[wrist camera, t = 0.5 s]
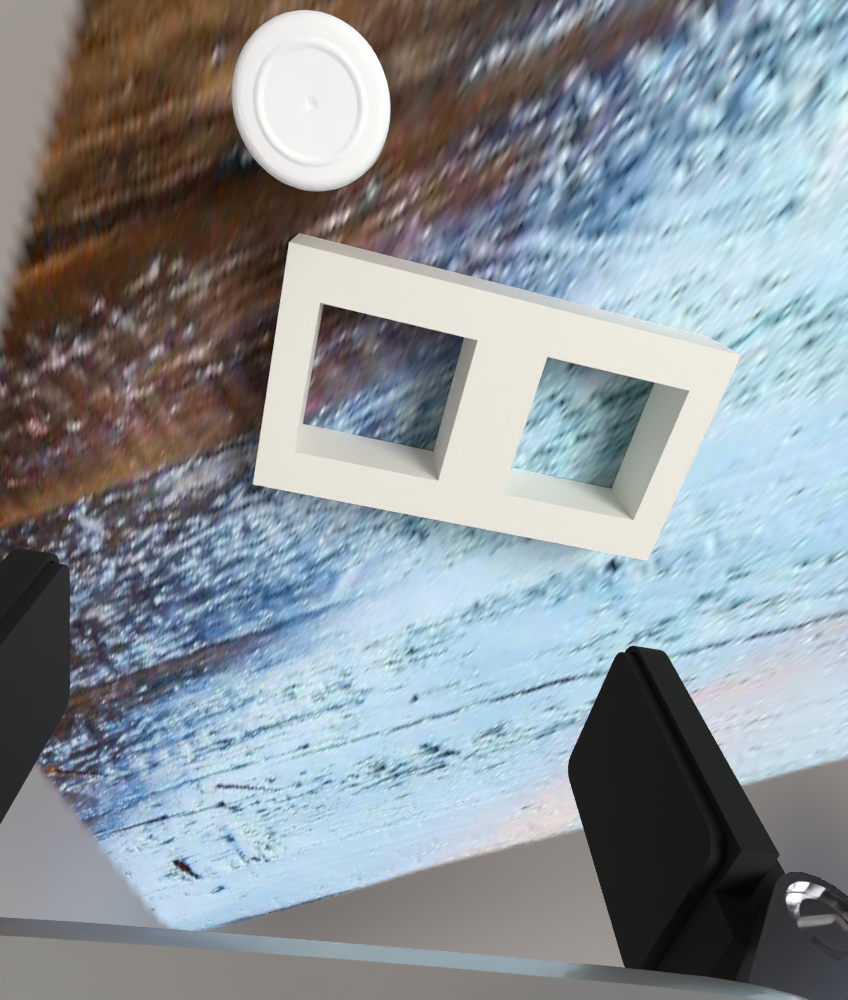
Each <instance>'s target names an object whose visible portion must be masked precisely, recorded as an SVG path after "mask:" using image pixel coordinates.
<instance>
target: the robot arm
mask: <svg viewBox="0 0 848 1000" xmlns="http://www.w3.org/2000/svg"><path fill="white" fill-rule="evenodd" d="M69 692H70V573H69V568H68V566H67V565H63V564H59V560H58V557H57V555H55V554H52V553H46V552H40V551H33V550H27V549H21V548H17V549H14V550H13V551H11V552H10V553H9V554H8V555H7V557H6V558H5V559H4V560H3V561H2V562H1V563H0V823H1V822H2V820H3V818H4V817H5V815H6V813H7V811H8V810H9V808H10V806H11V805H12V803H13V801H14V799H15V797H16V796H17V794H18V792H19V791H20V789H21V787H22V785H23V784H24V782H25V780H26V778H27V777H28V775H29V773H30V772H31V770H32V768H33V766H34V765H35V763H36V761H37V759H38V758H39V756H40V754H41V752H42V751H43V749H44V747H45V745H46V744H47V742H48V740H49V738H50V737H51V735H52V733H53V732H54V730H55V728H56V726H57V725H58V723H59V721H60V719H61V718H62V716H63V714H64V712H65V709H66V706H67V703H68V699H69ZM568 776H569V781H570V784H571V787H572V791H573V794H574V797H575V801H576V804H577V808H578V811H579V814H580V818H581V821H582V825H583V828H584V831H585V835H586V838H587V841H588V845H589V848H590V852H591V855H592V859H593V862H594V865H595V869H596V872H597V876H598V879H599V882H600V886H601V889H602V893H603V896H604V899H605V903H606V906H607V910H608V913H609V916H610V920H611V923H612V927H613V930H614V933H615V937H616V940H617V944H618V947H619V950H620V954H621V957H622V961H623V963H624V966H625V968H622V967H612V966H601V965H590V964H589V965H588V964H579V963H567V962H556V961H544V960H533V959H523V958H512V957H500V956H489V955H478V954H466V953H455V952H444V951H432V950H420V949H407V948H396V947H384V946H372V945H361V944H348V943H336V942H324V941H312V940H300V939H287V938H275V937H263V936H251V935H238V934H225V933H213V932H212V933H211V932H200V931H187V930H174V929H161V928H148V927H135V926H121V925H110V924H97V923H83V922H68V921H53V920H36V919H35V920H34V919H20V918H19V919H18V918H3V917H2V918H1V917H0V1000H848V896H847V895H846V894H845V893H843V892H842V891H841V890H840V889H838V888H837V887H836V886H834V885H833V884H830V883H829V882H827V881H825V880H823V879H822V878H820V877H817V876H814V875H811V874H808V873H804V872H788V873H786V874H785V873H784V871H783V869H782V867H781V865H780V864H779V862H778V860H777V858H778V857H779V853H778V851H777V849H776V848H775V846H774V844H773V842H772V840H771V839H770V837H769V835H768V833H767V832H766V830H765V828H764V826H763V824H762V823H761V821H760V819H759V817H758V816H757V814H756V812H755V810H754V808H753V807H752V805H751V803H750V801H749V800H748V798H747V796H746V794H745V793H744V791H743V789H742V787H741V785H740V784H739V782H738V780H737V778H736V776H735V775H734V773H733V771H732V769H731V768H730V766H729V764H728V762H727V761H726V759H725V757H724V755H723V753H722V752H721V750H720V748H719V746H718V745H717V743H716V741H715V739H714V737H713V736H712V734H711V732H710V730H709V729H708V727H707V725H706V723H705V721H704V720H703V718H702V716H701V714H700V713H699V711H698V709H697V707H696V705H695V704H694V702H693V700H692V698H691V697H690V695H689V693H688V691H687V690H686V688H685V686H684V684H683V682H682V681H681V679H680V677H679V675H678V674H677V672H676V670H675V668H674V666H673V665H672V663H671V661H670V659H669V658H668V656H667V655H666V653H665V652H664V651H661V650H656V649H650V648H644V647H638V646H630V647H629V648H628V649H626V651H625V653H624V652H620V653H618V654H617V655H616V657H615V658H614V661H613V663H612V665H611V667H610V670H609V672H608V674H607V676H606V678H605V681H604V683H603V685H602V687H601V690H600V692H599V694H598V696H597V698H596V701H595V703H594V705H593V707H592V709H591V712H590V714H589V716H588V718H587V721H586V723H585V725H584V727H583V729H582V732H581V734H580V736H579V738H578V741H577V743H576V745H575V747H574V749H573V752H572V754H571V756H570V759H569V764H568Z"/></svg>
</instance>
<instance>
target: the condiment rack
mask: <svg viewBox="0 0 848 1000" xmlns="http://www.w3.org/2000/svg"><path fill="white" fill-rule="evenodd" d="M324 304H327V305H331V306H335V307H340V308H344V309H348V310H352V311H356V312H361V313H365V314H369V315H373V316H377V317H382V318H386V319H390V320H394V321H398V322H403V323H407V324H411V325H415V326H419V327H424V328H428V329H432V330H436V331H440V332H445V333H449V334H453V335H457V336H461V337H464V340H463V344H462V347H461V351H460V355H459V358H458V362H457V366H456V369H455V373H454V377H453V380H452V384H451V388H450V391H449V395H448V399H447V402H446V406H445V410H444V413H443V417H442V421H441V424H440V428H439V432H438V435H437V439H436V443H435V446H434V450H433V451H430V450H425V449H420V448H415V447H411V446H406V445H401V444H396V443H392V442H387V441H382V440H377V439H372V438H368V437H363V436H358V435H353V434H349V433H344V432H339V431H334V430H329V429H325V428H320V427H315V426H310V425H306V424H303V418H304V412H305V407H306V401H307V396H308V390H309V384H310V379H311V373H312V367H313V362H314V356H315V350H316V345H317V339H318V334H319V328H320V322H321V317H322V311H323V305H324ZM740 356H741V355H740V354H738V353H736V352H735V351H733V350H731V349H729V348H727V347H725V346H724V345H722V344H720V343H718V342H716V341H715V340H713V339H711V338H709V337H707V336H705V335H701V334H697V333H693V332H689V331H685V330H681V329H677V328H673V327H669V326H665V325H661V324H657V323H653V322H649V321H645V320H641V319H637V318H633V317H629V316H625V315H621V314H618V313H614V312H610V311H606V310H602V309H598V308H594V307H590V306H586V305H582V304H578V303H574V302H570V301H566V300H562V299H558V298H554V297H550V296H546V295H542V294H538V293H534V292H530V291H527V290H523V289H519V288H515V287H511V286H507V285H503V284H499V283H495V282H491V281H487V280H483V279H479V278H475V277H471V276H467V275H463V274H459V273H455V272H451V271H447V270H443V269H439V268H436V267H432V266H428V265H424V264H420V263H416V262H412V261H408V260H404V259H400V258H396V257H392V256H388V255H384V254H380V253H376V252H372V251H368V250H364V249H360V248H356V247H352V246H348V245H345V244H341V243H337V242H333V241H329V240H325V239H321V238H317V237H313V236H309V235H305V234H301V233H299V234H298V235H297V236H295V237H294V238H293V239H292V240H291V241H290V242H289V246H288V253H287V260H286V266H285V273H284V280H283V286H282V293H281V300H280V306H279V313H278V320H277V326H276V333H275V340H274V346H273V353H272V360H271V367H270V373H269V380H268V387H267V393H266V400H265V407H264V413H263V420H262V427H261V433H260V440H259V447H258V453H257V460H256V467H255V473H254V480H253V485H259V486H264V487H269V488H274V489H279V490H284V491H290V492H295V493H300V494H305V495H310V496H315V497H321V498H326V499H331V500H336V501H341V502H346V503H352V504H357V505H362V506H367V507H372V508H377V509H383V510H388V511H393V512H398V513H403V514H408V515H414V516H419V517H424V518H429V519H434V520H439V521H445V522H450V523H455V524H460V525H465V526H470V527H476V528H481V529H486V530H491V531H496V532H502V533H507V534H512V535H517V536H522V537H527V538H533V539H538V540H543V541H548V542H553V543H558V544H564V545H569V546H574V547H579V548H584V549H589V550H595V551H600V552H605V553H610V554H615V555H620V556H626V557H631V558H636V559H641V560H646V561H647V560H648V558H649V556H650V554H651V551H652V549H653V547H654V545H655V543H656V540H657V538H658V536H659V534H660V532H661V530H662V527H663V525H664V523H665V521H666V519H667V516H668V514H669V512H670V510H671V508H672V505H673V503H674V501H675V499H676V497H677V494H678V492H679V490H680V488H681V486H682V483H683V481H684V479H685V477H686V475H687V472H688V470H689V468H690V466H691V464H692V462H693V459H694V457H695V455H696V453H697V451H698V448H699V446H700V444H701V442H702V440H703V437H704V435H705V433H706V431H707V429H708V426H709V424H710V422H711V420H712V418H713V415H714V413H715V411H716V409H717V407H718V404H719V402H720V400H721V398H722V396H723V394H724V391H725V389H726V387H727V385H728V383H729V380H730V378H731V376H732V374H733V372H734V369H735V367H736V365H737V363H738V361H739V358H740ZM547 357H550V358H554V359H558V360H562V361H566V362H571V363H575V364H579V365H583V366H588V367H592V368H596V369H600V370H604V371H609V372H613V373H617V374H621V375H625V376H630V377H634V378H638V379H642V380H646V381H651V382H655V383H654V385H653V388H652V390H651V393H650V395H649V397H648V400H647V402H646V405H645V407H644V410H643V412H642V415H641V417H640V420H639V422H638V425H637V427H636V429H635V432H634V434H633V437H632V439H631V442H630V444H629V447H628V449H627V452H626V454H625V456H624V459H623V461H622V464H621V466H620V469H619V471H618V474H617V476H616V479H615V481H614V484H613V486H612V488H606V487H602V486H597V485H592V484H587V483H583V482H578V481H573V480H568V479H563V478H559V477H554V476H549V475H544V474H540V473H535V472H530V471H525V470H520V469H516V468H511V466H512V463H513V460H514V457H515V454H516V451H517V448H518V445H519V442H520V439H521V436H522V433H523V430H524V427H525V424H526V421H527V418H528V415H529V412H530V409H531V406H532V402H533V399H534V396H535V393H536V390H537V387H538V384H539V381H540V378H541V375H542V372H543V369H544V366H545V363H546V360H547Z"/></svg>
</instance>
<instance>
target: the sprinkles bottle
mask: <svg viewBox="0 0 848 1000" xmlns="http://www.w3.org/2000/svg"><path fill="white" fill-rule="evenodd" d="M232 106H233V113H234V117H235V121H236V125H237V128H238V131H239V133H240V136H241V138H242V140H243V142H244V144H245V146H246V147H247V149H248V151H249V152H250V154H251V155H252V156H253V158H254V159H255V160H256V161H257V163H258V164H259V165H260V166H261V167H262V168H263V169H265V170H266V171H267V172H268V173H269V174H270V175H272V176H273V177H274V178H276V179H277V180H279V181H281V182H283V183H285V184H287V185H289V186H292V187H295V188H298V189H302V190H306V191H328V190H334V189H338V188H341V187H343V186H346V185H348V184H350V183H352V182H353V181H355V180H356V179H358V178H359V177H361V176H362V175H363V174H364V173H365V172H366V171H368V170H369V169H371V168H372V166H373V165H374V164H375V163H376V161H377V160H378V158H379V156H380V155H381V153H382V150H383V148H384V144H385V141H386V137H387V133H388V129H389V123H390V96H389V89H388V84H387V81H386V78H385V74H384V71H383V69H382V67H381V64H380V62H379V60H378V58H377V56H376V54H375V53H374V51H373V50H372V48H371V46H370V45H369V44H368V43H367V41H366V40H365V39H364V38H363V37H362V36H361V35H360V34H359V33H358V32H357V31H356V30H355V29H354V28H352V27H351V26H350V25H348V24H347V23H345V22H344V21H342V20H340V19H338V18H336V17H334V16H332V15H329V14H326V13H322V12H318V11H310V10H299V11H292V12H286V13H284V14H281V15H278V16H276V17H274V18H272V19H271V20H269V21H268V22H266V23H264V24H263V25H261V26H260V27H259V28H258V29H257V30H256V31H255V32H254V33H253V34H252V36H251V37H250V38H249V40H248V41H247V42H246V44H245V45H244V47H243V49H242V51H241V53H240V56H239V58H238V60H237V63H236V67H235V71H234V75H233V83H232Z"/></svg>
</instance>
